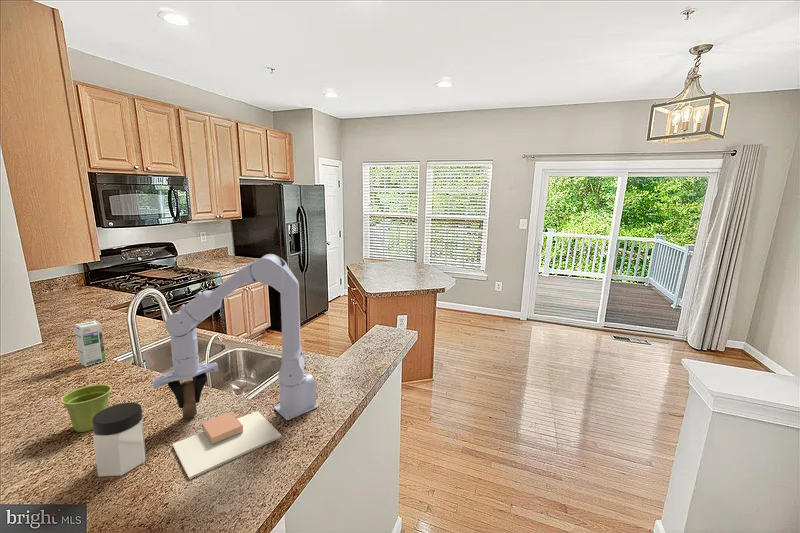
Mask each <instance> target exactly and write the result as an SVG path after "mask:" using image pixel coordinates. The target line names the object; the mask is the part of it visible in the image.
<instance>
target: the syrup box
mask: <svg viewBox="0 0 800 533" xmlns="http://www.w3.org/2000/svg"><path fill="white" fill-rule="evenodd" d="M102 327H103V326H102V323H101V322H100V321H97V320H92V321H87V322H81V323H77V324H74V333H75V339H76V346H77V354H78V361H79V362H80V363H81V364H80V363H79V364H80V365H81V366H83V365H84V366H88V365H91V366H93V365H92V364H94V365H96V364H95V363H98V364H100V363H99V362H102V363H104V362H103V361H105V362H106V361H107V360H106V352H105V345H104V335H103V328H102ZM84 366H83V367H84ZM88 367H89V366H88Z"/></svg>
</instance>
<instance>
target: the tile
mask: <svg viewBox="0 0 800 533" xmlns="http://www.w3.org/2000/svg"><path fill="white" fill-rule="evenodd" d="M201 430H202V432H204V433H205V434H206V436H207V437H208V439H209V440H210V442H211V444H212V445H215V444H217V443H219V442H222V441H224V440H226V439H229V438H231V437H234V436H236V435H238V434H241V433H243V425H242V424H241V423H240V421H239V420H238V418H237V417H236V416H235V414H234V413H233V411H229V412H226V413H223V414H221V415H217V416H216V417H212V418H210V419H207V420H205V421H202V422H201Z"/></svg>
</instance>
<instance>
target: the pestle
mask: <svg viewBox="0 0 800 533" xmlns="http://www.w3.org/2000/svg"><path fill="white" fill-rule="evenodd" d="M180 384H181V386H182V400H183V408H181V410H182V411H181V412H182V413H181V414H182V418H183V419H191V418H194V417H195V416H196V415H197V409H198V408H197V403H196V394H195V382H194V381H193V379H192V380H190V379H189V380H185V381H183V382H180Z"/></svg>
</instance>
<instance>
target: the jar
mask: <svg viewBox="0 0 800 533" xmlns="http://www.w3.org/2000/svg"><path fill="white" fill-rule="evenodd" d="M92 423H93V430H92V431H93V435H92V438H93V447H94V455H95V463H96V470H97V477H99V478H100V477H120V476H121V477H122V476H124V475H125V474H127V473H128V472H130V471H132V470H134V469H136V468H137V467H138V466H140V465H142V464H143V463H145V462H146V452H147V451H146V441H145V432H144V430H145V429H144V421H143V409H142V405H141V404H140V403H137V402H123V403H118V404H115V405H112V406H107V408H106V409H104V410H102V411H100V412H99V413H97V414H96V415H95V416H94V417H93V419H92Z"/></svg>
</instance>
